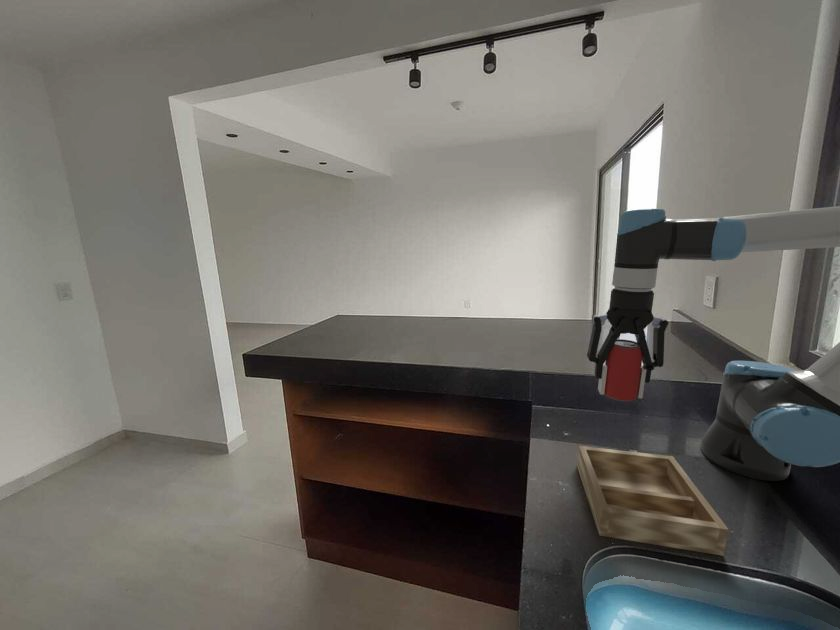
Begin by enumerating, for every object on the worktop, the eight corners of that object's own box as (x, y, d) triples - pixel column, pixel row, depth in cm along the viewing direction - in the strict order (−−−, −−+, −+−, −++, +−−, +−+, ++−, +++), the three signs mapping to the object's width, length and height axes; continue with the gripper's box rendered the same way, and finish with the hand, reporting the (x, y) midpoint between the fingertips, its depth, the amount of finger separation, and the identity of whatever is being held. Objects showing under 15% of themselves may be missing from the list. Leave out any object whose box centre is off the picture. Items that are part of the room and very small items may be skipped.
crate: (669, 477, 75) (672, 456, 74) (723, 555, 57) (728, 529, 56) (576, 465, 79) (578, 445, 78) (599, 535, 61) (602, 510, 60)
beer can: (641, 404, 73) (649, 348, 70) (606, 401, 74) (612, 346, 72) (631, 390, 79) (637, 339, 76) (598, 388, 81) (604, 337, 78)
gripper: (680, 287, 72) (664, 391, 77) (577, 284, 78) (568, 382, 83) (697, 293, 65) (678, 407, 70) (583, 289, 70) (573, 396, 76)
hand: (619, 393), depth 77 cm, fingers closed on beer can, 7 cm apart
